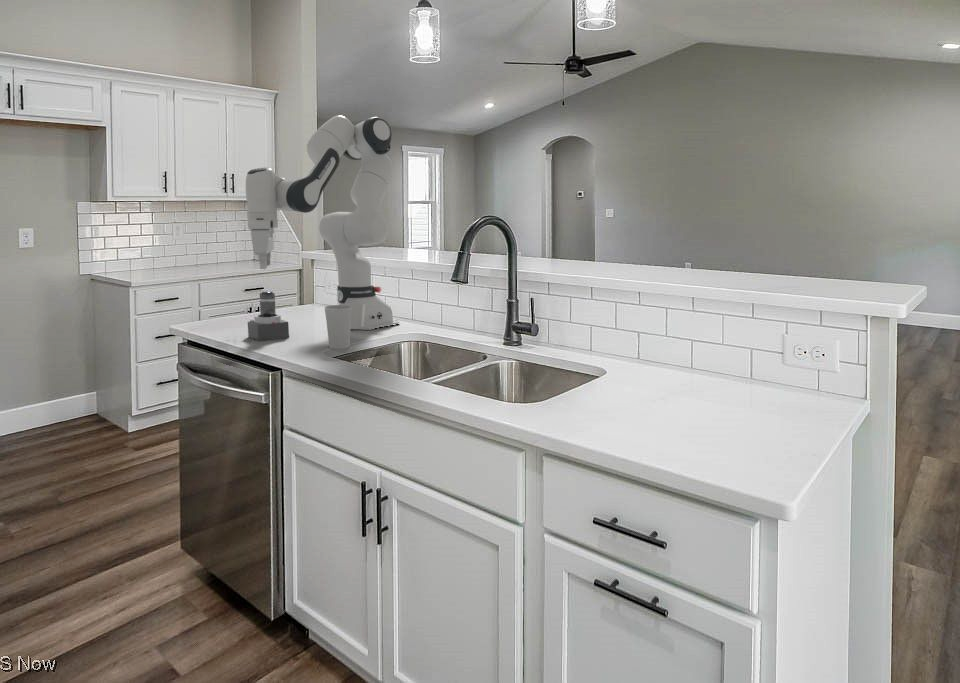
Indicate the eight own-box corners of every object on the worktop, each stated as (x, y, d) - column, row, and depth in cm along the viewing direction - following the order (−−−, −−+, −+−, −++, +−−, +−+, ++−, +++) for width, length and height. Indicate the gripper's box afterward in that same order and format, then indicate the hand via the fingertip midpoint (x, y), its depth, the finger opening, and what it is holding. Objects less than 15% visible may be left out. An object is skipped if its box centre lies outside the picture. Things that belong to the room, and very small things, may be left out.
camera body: (278, 333, 227) (277, 312, 226) (289, 337, 220) (288, 315, 219) (248, 337, 221) (247, 315, 219) (259, 341, 214) (258, 319, 213)
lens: (261, 320, 222) (260, 291, 220) (277, 320, 223) (276, 291, 221) (259, 323, 217) (258, 293, 215) (275, 322, 218) (274, 293, 216)
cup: (320, 347, 207) (318, 307, 205) (339, 342, 214) (338, 304, 211) (339, 350, 203) (338, 309, 200) (358, 346, 209) (357, 306, 207)
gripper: (256, 220, 223) (259, 263, 226) (247, 223, 203) (250, 270, 206) (277, 220, 224) (279, 263, 227) (269, 223, 204) (272, 270, 207)
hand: (265, 267), depth 216 cm, fingers open, 8 cm apart
